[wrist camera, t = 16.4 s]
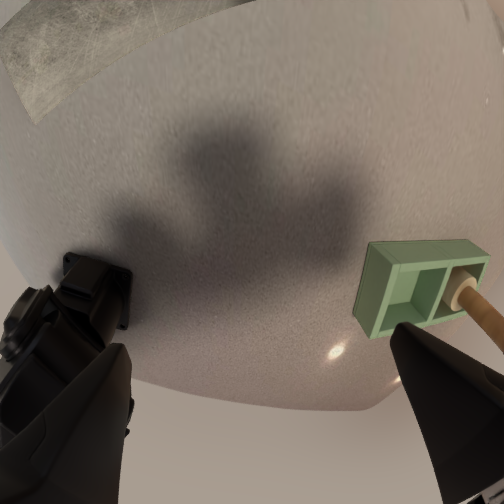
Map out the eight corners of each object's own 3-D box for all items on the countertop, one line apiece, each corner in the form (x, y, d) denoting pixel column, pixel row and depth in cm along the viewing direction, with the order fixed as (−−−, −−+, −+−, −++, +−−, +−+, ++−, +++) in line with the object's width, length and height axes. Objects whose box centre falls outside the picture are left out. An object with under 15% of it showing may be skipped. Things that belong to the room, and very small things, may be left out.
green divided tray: (352, 312, 25) (369, 340, 22) (369, 241, 22) (393, 264, 18) (448, 296, 27) (467, 314, 23) (468, 239, 23) (491, 255, 20)
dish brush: (436, 295, 25) (506, 376, 13) (424, 280, 24) (504, 368, 12) (458, 269, 24) (534, 342, 12) (447, 251, 23) (535, 329, 11)
